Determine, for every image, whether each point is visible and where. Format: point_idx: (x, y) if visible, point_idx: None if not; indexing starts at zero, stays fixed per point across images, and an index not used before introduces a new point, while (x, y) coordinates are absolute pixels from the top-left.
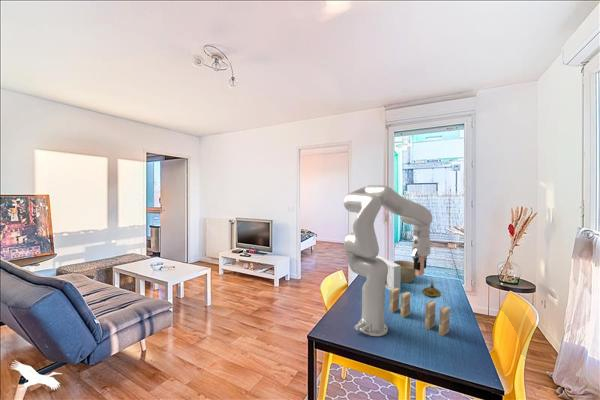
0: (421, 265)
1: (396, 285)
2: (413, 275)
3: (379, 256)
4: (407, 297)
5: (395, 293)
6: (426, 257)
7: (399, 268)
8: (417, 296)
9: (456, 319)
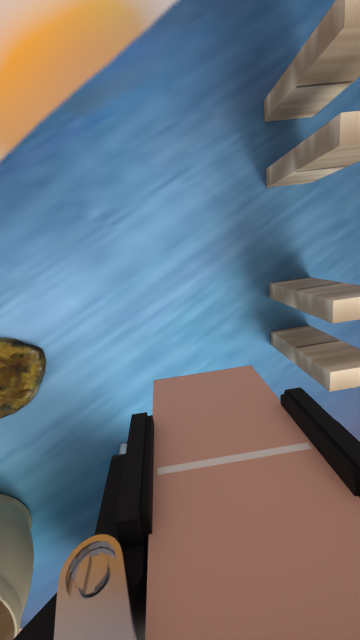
0: (239, 447)
1: None
2: None
3: None
4: (348, 292)
5: (352, 357)
6: (80, 636)
7: None
8: (90, 381)
9: (125, 148)
